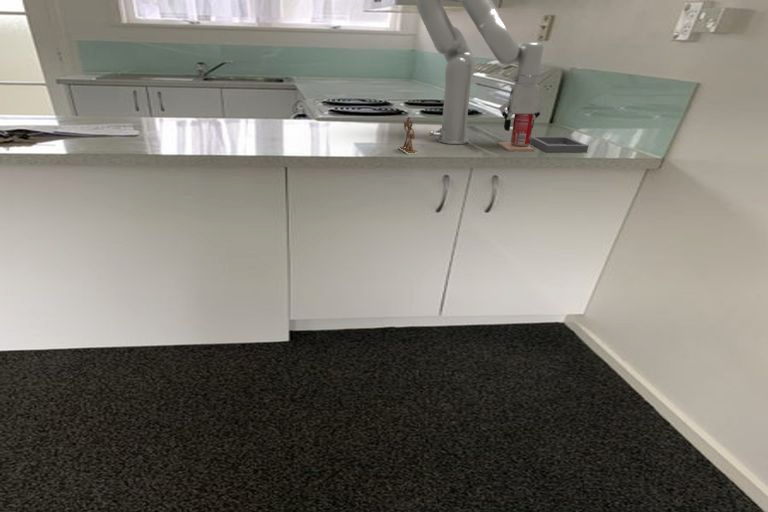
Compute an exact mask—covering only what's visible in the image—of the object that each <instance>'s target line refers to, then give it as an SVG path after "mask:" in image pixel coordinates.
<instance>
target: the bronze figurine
mask: <svg viewBox="0 0 768 512" xmlns="http://www.w3.org/2000/svg"><path fill="white" fill-rule="evenodd" d="M413 122H414V121H413V118H412V117H411V116H408V117H407V118H406V120H405V121H403V128H404V131H405V132H406V137H405V141H404V142H403V143H404V144H403V145H402V146H399V147H400V148H401V149H403V150H405V151H406V152H408V153H415V152H418V151H417V150H415V149H414V147H413V142H412V141H413V140H415V136H416V135H415V130H414V128H412V127H413V125H414V123H413ZM404 147H406V148H404Z"/></svg>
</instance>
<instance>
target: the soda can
mask: <svg viewBox="0 0 768 512" xmlns="http://www.w3.org/2000/svg"><path fill="white" fill-rule="evenodd" d="M533 121H534V122H535V120H534V114H514V118H513V124H512V128H511V129H512V131H511V138H510V142H511V143H512V145H514V146H530V138H531V137H532V131H533V128H534V124H533ZM532 124H533V126H532ZM532 127H533V128H532ZM531 130H532V131H531Z"/></svg>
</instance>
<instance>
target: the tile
mask: <svg viewBox="0 0 768 512" xmlns="http://www.w3.org/2000/svg"><path fill="white" fill-rule="evenodd" d="M497 145H498V146H499V147H501V148H503V149H504V150H505V151H507V150H508V152H533V151H534V148H533V147H531V146H530V145H528V146H514V145H512V143H511V141H509V142H508V141H500V142H499V141H497Z"/></svg>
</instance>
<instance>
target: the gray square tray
mask: <svg viewBox="0 0 768 512" xmlns="http://www.w3.org/2000/svg"><path fill="white" fill-rule="evenodd" d="M529 145H531V146H534V147H535V148H538V149H539V150H541V151H543V152H544V153H588V150H589V145H587V144H586V143H582V142H581V141H578V140H576V139H574V138H572V137H568V136H531V138H530V143H529Z"/></svg>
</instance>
